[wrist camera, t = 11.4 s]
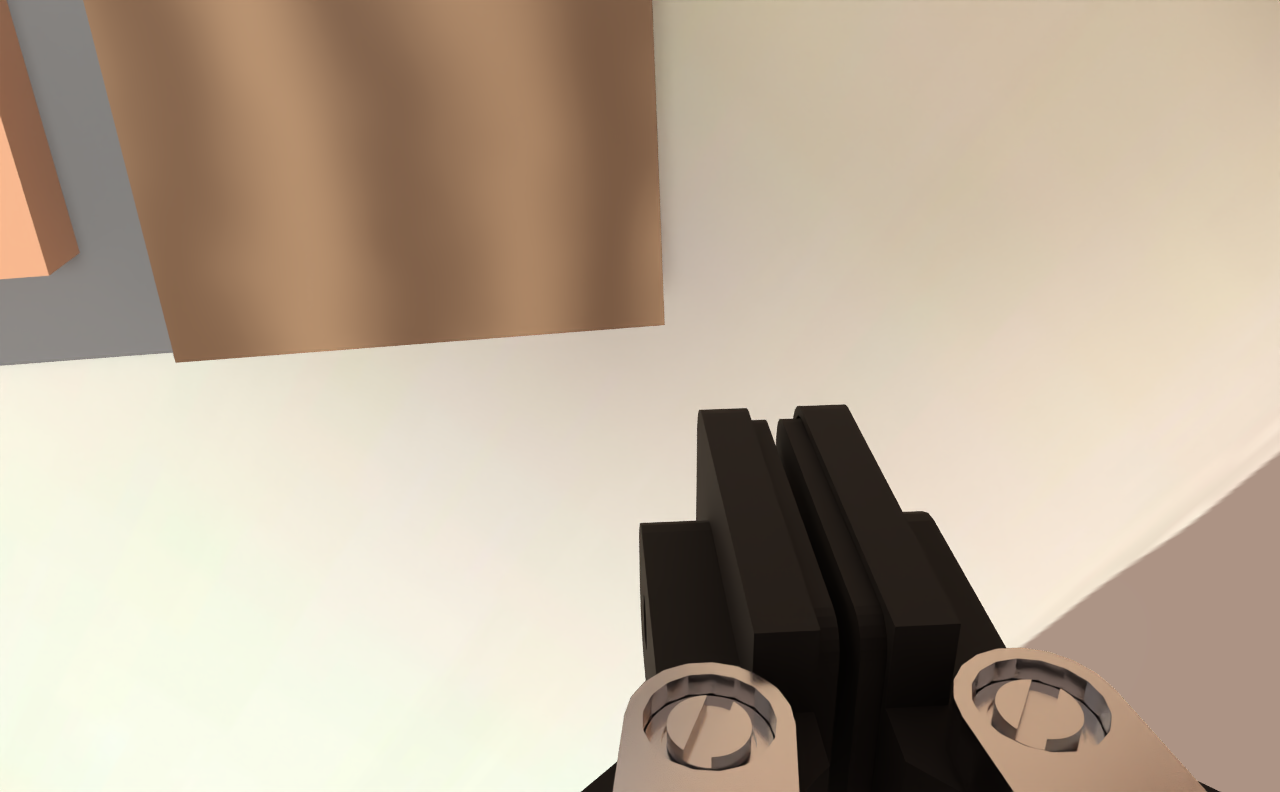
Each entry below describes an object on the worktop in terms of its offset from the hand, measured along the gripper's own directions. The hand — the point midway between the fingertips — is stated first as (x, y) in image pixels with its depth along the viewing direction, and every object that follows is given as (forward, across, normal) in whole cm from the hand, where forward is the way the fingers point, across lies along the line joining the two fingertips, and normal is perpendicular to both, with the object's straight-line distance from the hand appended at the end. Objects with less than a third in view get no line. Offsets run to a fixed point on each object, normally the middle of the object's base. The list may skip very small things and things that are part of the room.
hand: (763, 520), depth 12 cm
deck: (+26, +8, 0) cm, 27 cm away
